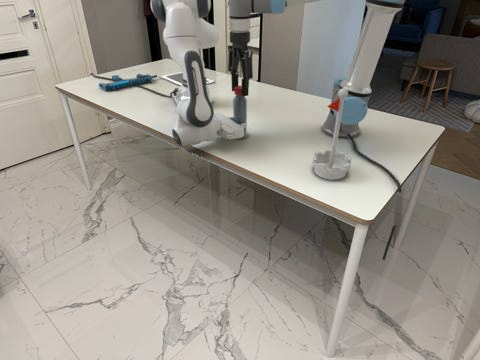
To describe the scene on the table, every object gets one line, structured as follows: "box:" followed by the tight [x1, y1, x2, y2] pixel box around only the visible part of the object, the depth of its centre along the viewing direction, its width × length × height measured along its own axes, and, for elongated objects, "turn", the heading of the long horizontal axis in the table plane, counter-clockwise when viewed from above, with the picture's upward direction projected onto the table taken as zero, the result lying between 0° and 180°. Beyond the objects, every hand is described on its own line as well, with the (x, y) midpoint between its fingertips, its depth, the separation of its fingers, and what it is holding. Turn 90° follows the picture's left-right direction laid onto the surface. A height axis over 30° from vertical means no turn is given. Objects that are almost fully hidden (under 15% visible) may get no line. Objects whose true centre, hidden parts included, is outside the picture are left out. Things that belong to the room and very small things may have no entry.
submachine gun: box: [98, 73, 158, 91], centre depth 208 cm, size 34×4×25 cm
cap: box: [233, 85, 242, 96], centre depth 135 cm, size 4×4×3 cm
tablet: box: [160, 71, 216, 87], centre depth 213 cm, size 32×20×1 cm, turn 41°
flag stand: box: [312, 88, 352, 181], centre depth 113 cm, size 13×13×30 cm
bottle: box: [232, 95, 248, 140], centre depth 140 cm, size 6×6×21 cm
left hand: (241, 121), depth 142 cm, fingers closed on bottle, 5 cm apart
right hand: (239, 92), depth 135 cm, fingers open, 7 cm apart
